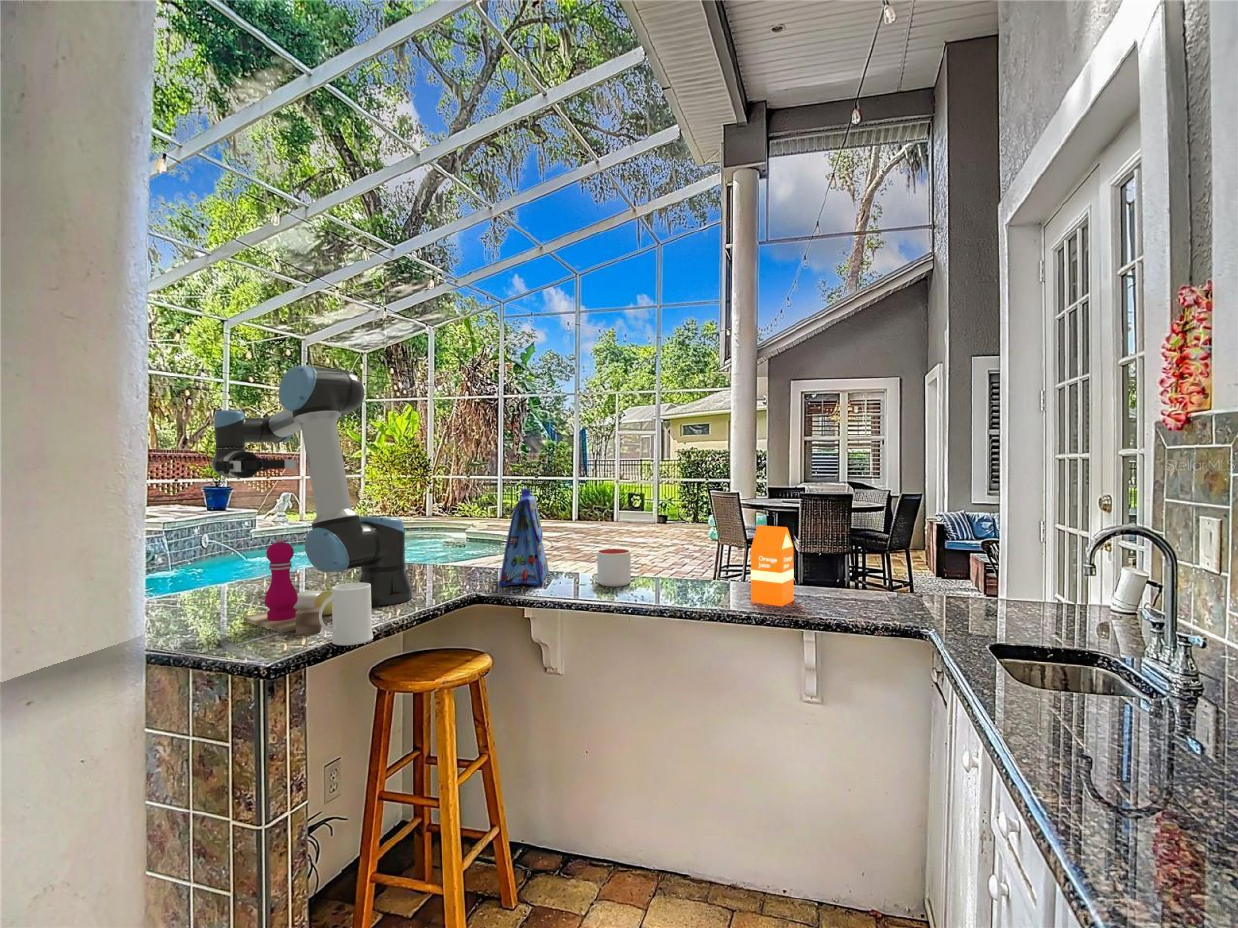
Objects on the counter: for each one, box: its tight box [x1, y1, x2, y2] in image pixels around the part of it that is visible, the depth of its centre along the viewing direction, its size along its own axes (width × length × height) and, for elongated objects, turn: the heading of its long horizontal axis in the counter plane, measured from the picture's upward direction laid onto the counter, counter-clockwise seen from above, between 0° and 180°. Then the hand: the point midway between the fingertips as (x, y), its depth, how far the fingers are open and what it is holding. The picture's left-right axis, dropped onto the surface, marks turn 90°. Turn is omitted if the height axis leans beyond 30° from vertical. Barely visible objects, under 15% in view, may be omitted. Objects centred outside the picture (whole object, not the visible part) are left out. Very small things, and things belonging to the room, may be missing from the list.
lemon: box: [314, 590, 332, 616], centre depth 173 cm, size 6×6×6 cm
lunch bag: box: [499, 487, 550, 587], centre depth 214 cm, size 22×14×29 cm, turn 1°
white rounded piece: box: [293, 590, 325, 609], centre depth 183 cm, size 8×8×4 cm
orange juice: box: [750, 524, 795, 607], centre depth 181 cm, size 8×9×20 cm
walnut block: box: [295, 607, 322, 636], centre depth 158 cm, size 5×5×5 cm
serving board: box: [242, 611, 296, 634], centre depth 166 cm, size 18×10×1 cm, turn 54°
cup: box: [596, 548, 632, 588], centre depth 206 cm, size 10×10×10 cm
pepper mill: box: [264, 535, 298, 621], centre depth 166 cm, size 7×7×20 cm
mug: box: [319, 581, 374, 646], centre depth 149 cm, size 12×8×12 cm
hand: (268, 465), depth 177 cm, fingers open, 13 cm apart
